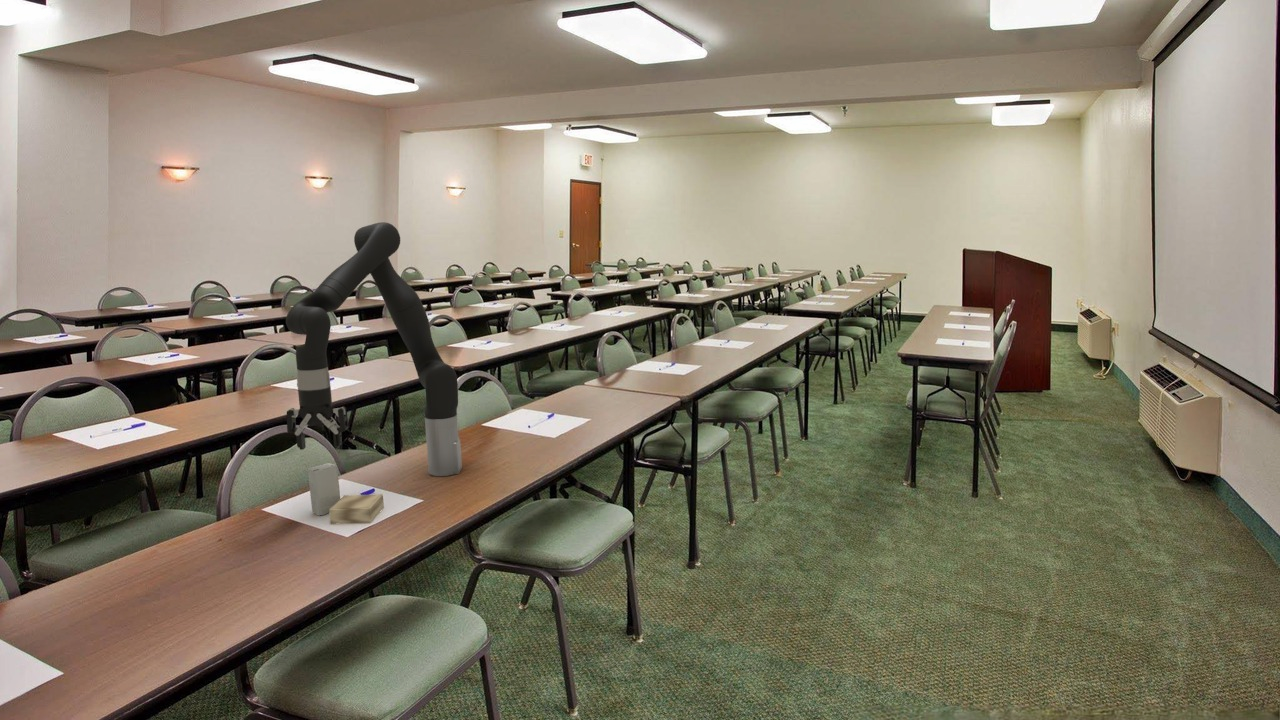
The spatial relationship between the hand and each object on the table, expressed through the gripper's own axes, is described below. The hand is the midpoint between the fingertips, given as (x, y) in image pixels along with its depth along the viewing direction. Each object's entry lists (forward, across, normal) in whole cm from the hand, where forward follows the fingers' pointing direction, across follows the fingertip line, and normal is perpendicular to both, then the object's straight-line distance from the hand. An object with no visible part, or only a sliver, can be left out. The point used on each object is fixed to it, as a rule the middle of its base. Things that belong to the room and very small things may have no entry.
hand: (319, 448), depth 186 cm
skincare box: (+17, 0, 0) cm, 17 cm away
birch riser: (+17, -9, +4) cm, 20 cm away
